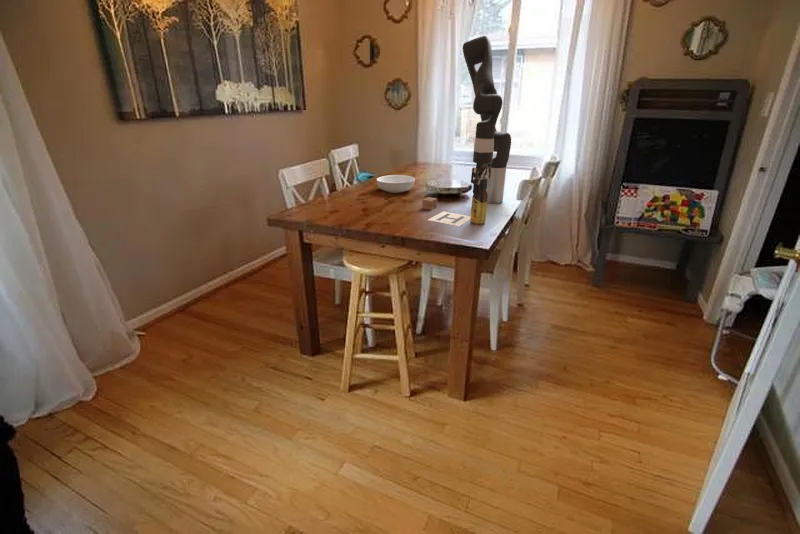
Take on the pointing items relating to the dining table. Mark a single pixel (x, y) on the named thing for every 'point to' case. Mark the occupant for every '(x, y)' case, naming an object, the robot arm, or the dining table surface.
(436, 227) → the dining table surface
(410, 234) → the dining table surface
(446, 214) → the letter card
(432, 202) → the walnut block
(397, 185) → the serving bowl
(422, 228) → the dining table surface
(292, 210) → the dining table surface
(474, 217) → the sauce bottle
